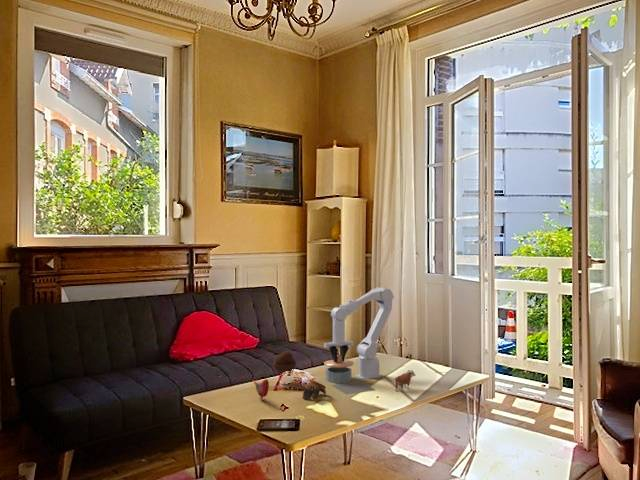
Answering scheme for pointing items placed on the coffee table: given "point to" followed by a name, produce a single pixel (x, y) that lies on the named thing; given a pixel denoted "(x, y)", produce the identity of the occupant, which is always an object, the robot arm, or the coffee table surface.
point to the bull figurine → (404, 379)
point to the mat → (353, 387)
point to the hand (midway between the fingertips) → (338, 361)
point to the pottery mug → (313, 393)
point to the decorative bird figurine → (262, 388)
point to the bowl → (338, 375)
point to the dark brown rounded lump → (284, 362)
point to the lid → (338, 363)
